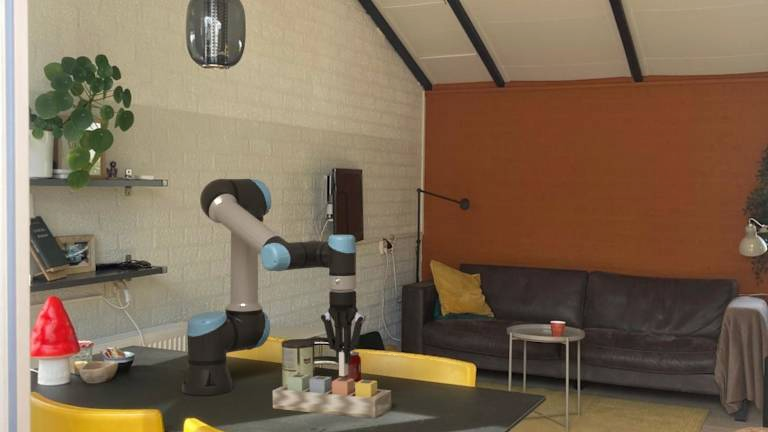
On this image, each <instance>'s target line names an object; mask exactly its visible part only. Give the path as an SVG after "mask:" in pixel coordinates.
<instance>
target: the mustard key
mask: <svg viewBox="0 0 768 432" xmlns="http://www.w3.org/2000/svg"><path fill="white" fill-rule="evenodd" d="M377 389H378V381H377V380H367V379H361V381H359V382H357V383H355V396H356V397H366V398H372V397H373V396H375V395H377Z"/></svg>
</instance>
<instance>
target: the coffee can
mask: <svg viewBox="0 0 768 432" xmlns="http://www.w3.org/2000/svg"><path fill="white" fill-rule="evenodd" d="M315 343H316V341H315V340H313V339H308V338H307V339H305V338H296V339H295V338H293V339H286V340H283V341H281V365H282V366H281V367H282V368H281V369H282V372H281V373H282V379H281V380H282V386H284V385H286V384H287V377H289V376H291V375H294V374H301V375H309V383H310V379H311V378H313V377H315V376H316V375H315V369H316V368H315V367H316V366H315V363H316V362H315Z"/></svg>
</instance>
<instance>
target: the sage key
mask: <svg viewBox="0 0 768 432" xmlns="http://www.w3.org/2000/svg"><path fill="white" fill-rule="evenodd" d="M287 388H288V390H292V391H304V390H306V389H308V388H309V375H301V374H294V375H291V376H289V377H287Z"/></svg>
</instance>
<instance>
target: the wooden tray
mask: <svg viewBox="0 0 768 432" xmlns="http://www.w3.org/2000/svg"><path fill="white" fill-rule="evenodd" d="M272 409H277V410H286V411H288V410H289V411H296V412H305V413H313V414H325V415H332V416H333V415H335V416H336V415H337V416H343V417H344V416H345V417H352V418H353V417H354V418H361V419H362V418H363V419H371V420H373V419H374V420H375V419H377V418H379V417H381V415H384V413H386V412H387V411H389V410H391V409H392V390H390V389H389V390H388V389H380V388H377V395H375V396H373V397H372V398H366V397H356V396H355V387H354V392H353V393H352V394H350V395H348V396H345V395H334V394H332V390H330V391H328V392H326V393H313V392H310V383H309V388H308V389H306V390H304V391H292V390H288V388H287V384H286V385H284V386H283V385H281V386H279V387H278V388H276V389H273V390H272Z"/></svg>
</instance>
